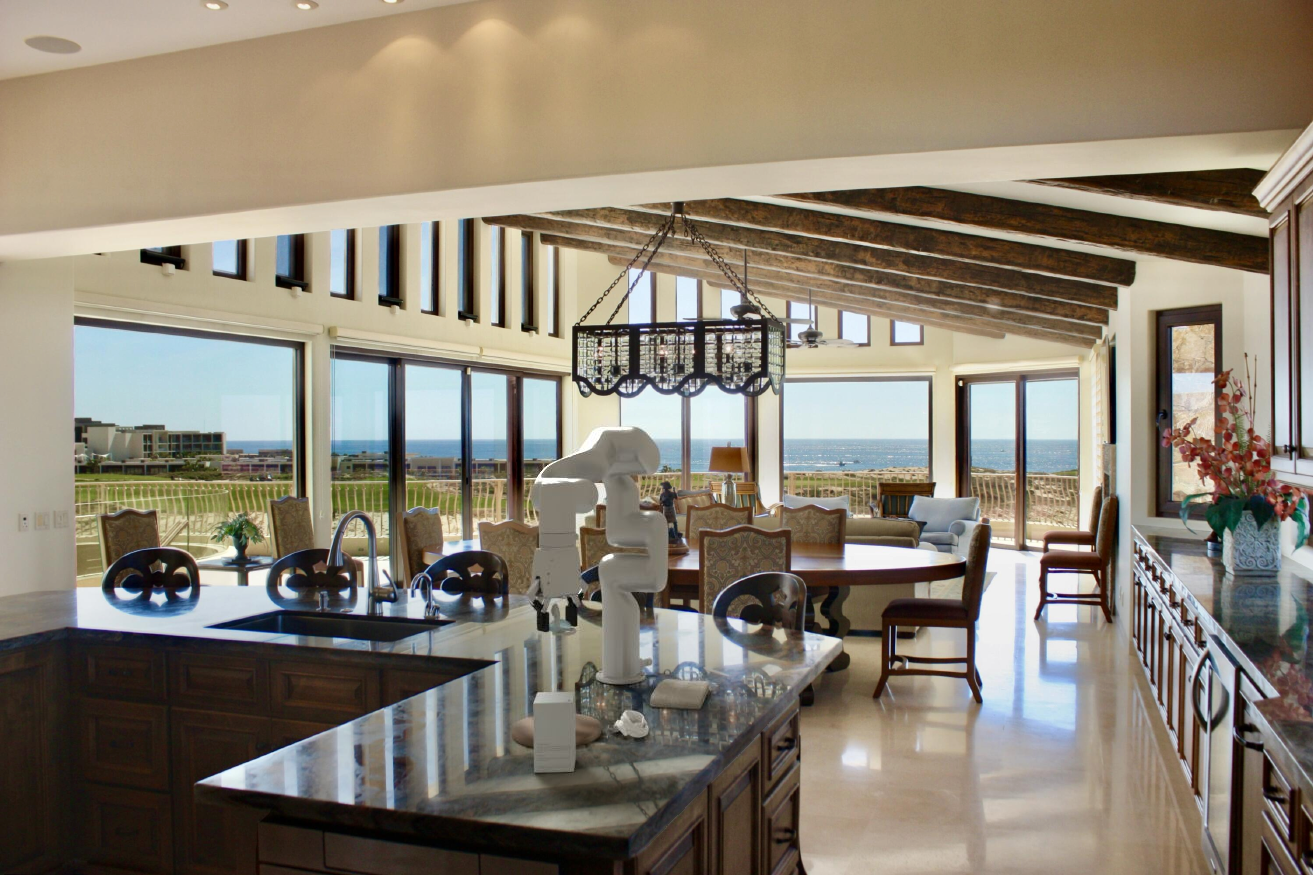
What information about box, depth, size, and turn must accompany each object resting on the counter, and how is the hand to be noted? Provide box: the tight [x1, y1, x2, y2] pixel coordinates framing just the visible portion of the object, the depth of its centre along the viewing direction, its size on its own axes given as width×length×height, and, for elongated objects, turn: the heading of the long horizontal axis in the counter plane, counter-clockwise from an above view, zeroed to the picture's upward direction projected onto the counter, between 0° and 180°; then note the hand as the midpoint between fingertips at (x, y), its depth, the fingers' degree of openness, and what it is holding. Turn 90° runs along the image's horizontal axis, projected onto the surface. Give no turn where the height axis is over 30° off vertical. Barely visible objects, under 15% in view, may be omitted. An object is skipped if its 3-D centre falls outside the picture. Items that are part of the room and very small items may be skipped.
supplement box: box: [532, 691, 577, 774], centre depth 161 cm, size 7×7×13 cm
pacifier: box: [549, 602, 577, 637], centre depth 180 cm, size 7×6×6 cm
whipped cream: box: [611, 710, 649, 738], centre depth 180 cm, size 8×7×5 cm
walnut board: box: [511, 713, 602, 748], centre depth 179 cm, size 18×18×2 cm
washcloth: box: [649, 678, 711, 710], centre depth 206 cm, size 12×18×3 cm, turn 170°
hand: (557, 627), depth 180 cm, fingers closed on pacifier, 6 cm apart
